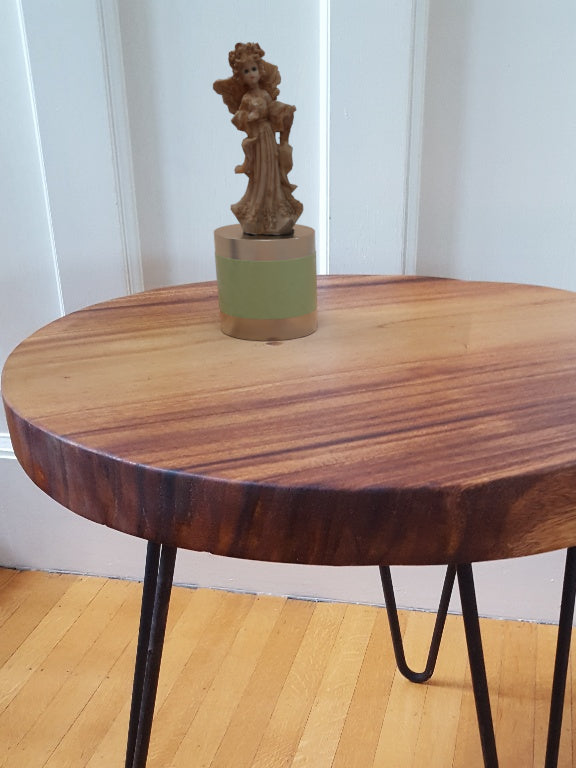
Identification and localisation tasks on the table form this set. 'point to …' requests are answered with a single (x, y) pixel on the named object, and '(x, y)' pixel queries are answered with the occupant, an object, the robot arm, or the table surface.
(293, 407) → the table surface
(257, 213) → the figurine
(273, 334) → the tin can
